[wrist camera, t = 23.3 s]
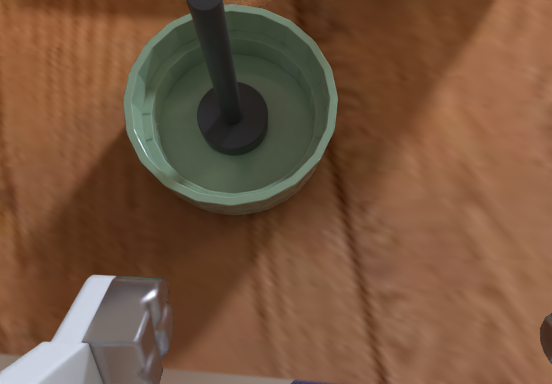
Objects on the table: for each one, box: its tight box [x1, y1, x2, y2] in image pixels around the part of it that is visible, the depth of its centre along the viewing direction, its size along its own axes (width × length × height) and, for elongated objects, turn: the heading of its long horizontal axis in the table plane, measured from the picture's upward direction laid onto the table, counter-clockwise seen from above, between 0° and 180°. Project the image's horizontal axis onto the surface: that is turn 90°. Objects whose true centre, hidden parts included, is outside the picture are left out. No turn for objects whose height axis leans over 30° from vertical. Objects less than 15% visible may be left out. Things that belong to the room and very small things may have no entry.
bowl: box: [123, 4, 338, 216], centre depth 32 cm, size 15×15×6 cm
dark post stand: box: [187, 0, 268, 156], centre depth 26 cm, size 6×6×16 cm
